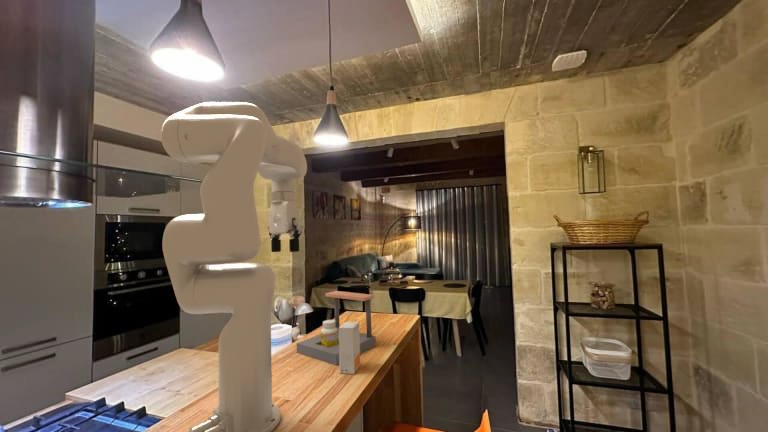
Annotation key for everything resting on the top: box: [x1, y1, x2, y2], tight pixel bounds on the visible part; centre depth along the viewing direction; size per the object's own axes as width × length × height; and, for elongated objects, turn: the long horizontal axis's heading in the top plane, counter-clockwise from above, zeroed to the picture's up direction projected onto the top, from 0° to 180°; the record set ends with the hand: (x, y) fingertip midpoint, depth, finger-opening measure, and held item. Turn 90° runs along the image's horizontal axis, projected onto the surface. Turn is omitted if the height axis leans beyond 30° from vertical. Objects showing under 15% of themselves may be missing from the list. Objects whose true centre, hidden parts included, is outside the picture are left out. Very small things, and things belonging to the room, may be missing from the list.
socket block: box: [296, 290, 377, 366], centre depth 98 cm, size 18×18×16 cm
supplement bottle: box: [320, 319, 338, 348], centre depth 95 cm, size 5×5×10 cm
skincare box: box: [338, 321, 361, 375], centre depth 83 cm, size 6×4×12 cm
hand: (285, 251), depth 96 cm, fingers open, 9 cm apart
